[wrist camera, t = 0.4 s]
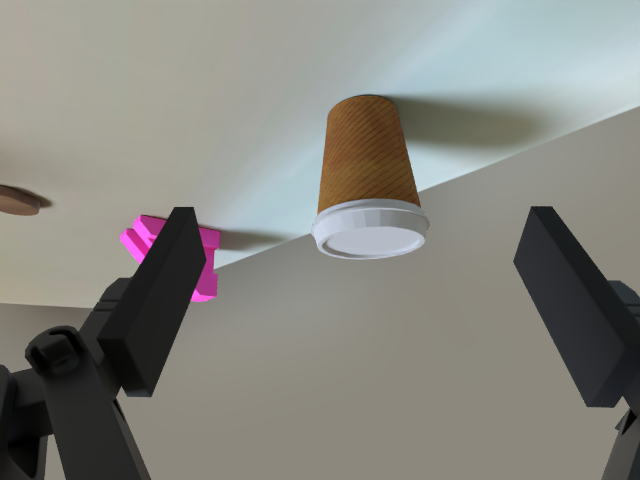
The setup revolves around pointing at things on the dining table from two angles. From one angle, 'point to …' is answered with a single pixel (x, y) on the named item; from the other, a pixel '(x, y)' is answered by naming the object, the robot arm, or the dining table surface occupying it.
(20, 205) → the wooden spoon
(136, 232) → the bracket
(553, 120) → the dining table surface
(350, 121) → the disposable coffee cup
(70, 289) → the dining table surface
